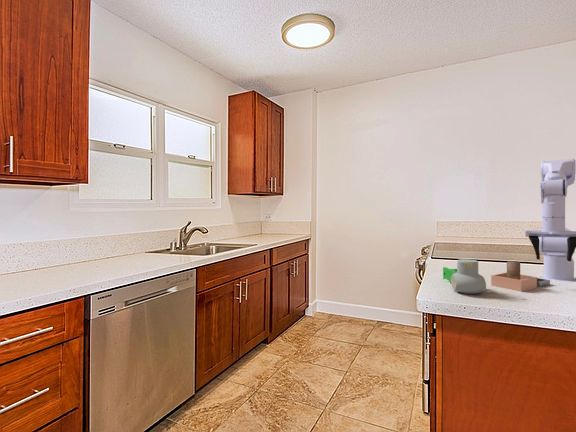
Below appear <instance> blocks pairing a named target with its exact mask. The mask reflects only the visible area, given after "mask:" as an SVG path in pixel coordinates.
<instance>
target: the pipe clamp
mask: <svg viewBox="0 0 576 432" xmlns="http://www.w3.org/2000/svg"><path fill="white" fill-rule="evenodd" d="M454 273H457V268H448V267H447V266H445V267H444V266H443V268H442V279H443V280H446V281H447V280H448V281H447V282H448V283H449V282H450V284H451V276H452V275H453V274H454Z"/></svg>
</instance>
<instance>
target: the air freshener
mask: <svg viewBox="0 0 576 432" xmlns="http://www.w3.org/2000/svg"><path fill="white" fill-rule="evenodd" d="M456 269H457V273H454V274H453V275H452V276H451V283H450V285H451V287H452V289H453V290H454V291H456V292H457V291H458V292H457V293H460V294H466V295H467V294H468V295H475V294H477V295H478V294H479V293H480V294H481V293H482V292H484V291H485V290H487V289H486V288H487V281H486V278H484V276H483V275H481V274H480V273H479V261H478V260H476V259H467V258H466V259H465V258H461V259H457V261H456Z"/></svg>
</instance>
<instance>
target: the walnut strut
mask: <svg viewBox="0 0 576 432" xmlns="http://www.w3.org/2000/svg"><path fill="white" fill-rule="evenodd" d="M506 272H507V278H512V279H517V280H520V274H521V262H520V261H506Z"/></svg>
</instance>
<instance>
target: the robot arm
mask: <svg viewBox="0 0 576 432" xmlns="http://www.w3.org/2000/svg"><path fill="white" fill-rule="evenodd" d="M540 176H541V177H540V178H541V181H540V184H539V194H540V202H541V230H524V237H525V238H528V239H529V241H530V243H531V245H532V247H533V249H534V253H535V257H536V260H538V261H539V260H541V259H540V258H541V256H540V255H541V254H540V253H542V255H543V275H540V276H539V278H541V279H547V280H551V281H552V280H553V281H559V282H568V281H572V280H576V277H575V261H574V259H573V255H574V254H575V253H576V231H575V230H574V231H573V230H571V229H569V228H567V227H566V198H567V195H568V187H569V186H571V185H573V184H575V181H576V159H575V158H570V159H560V160H559V159H558V160H556V159H555V160H546V161H545V160H543V161H541V163H540Z"/></svg>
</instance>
